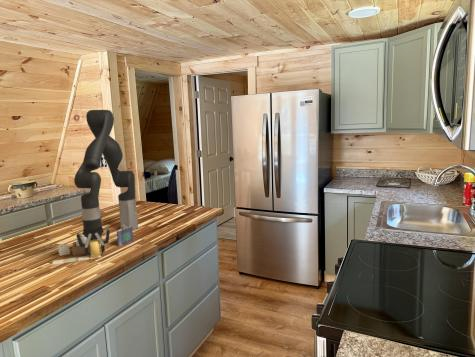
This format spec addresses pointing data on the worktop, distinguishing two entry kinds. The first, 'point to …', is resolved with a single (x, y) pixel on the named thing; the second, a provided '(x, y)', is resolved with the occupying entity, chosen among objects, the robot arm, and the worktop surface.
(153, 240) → the worktop surface
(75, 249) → the board
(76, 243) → the white rounded egg-shaped piece
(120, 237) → the navy rounded piece
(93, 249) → the yellow rounded oblong piece
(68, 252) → the die
